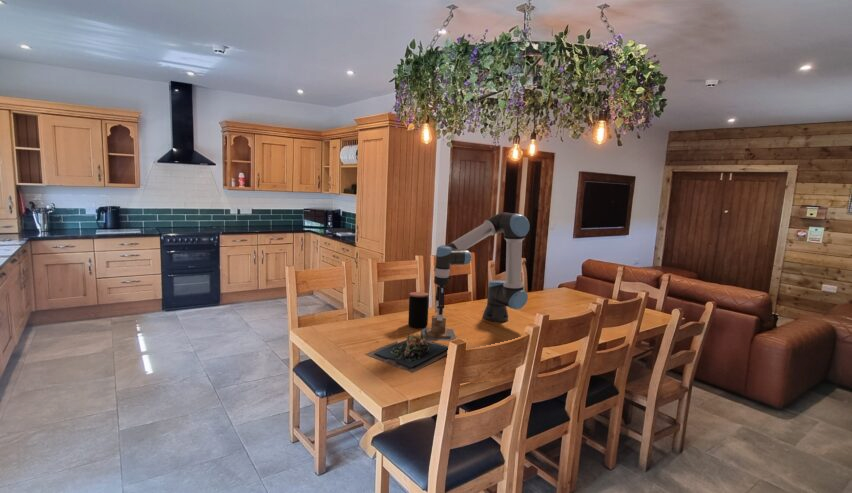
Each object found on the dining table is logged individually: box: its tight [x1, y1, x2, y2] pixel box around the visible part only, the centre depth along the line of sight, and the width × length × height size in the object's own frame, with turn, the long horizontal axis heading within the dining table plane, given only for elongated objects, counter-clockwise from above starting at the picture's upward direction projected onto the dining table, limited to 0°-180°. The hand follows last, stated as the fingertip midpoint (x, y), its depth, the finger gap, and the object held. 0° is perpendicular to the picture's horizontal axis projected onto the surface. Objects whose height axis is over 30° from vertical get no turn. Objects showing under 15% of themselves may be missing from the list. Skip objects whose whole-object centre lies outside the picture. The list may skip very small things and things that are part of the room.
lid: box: [425, 315, 451, 339], centre depth 231 cm, size 12×12×9 cm
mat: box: [419, 327, 457, 342], centre depth 232 cm, size 18×18×1 cm
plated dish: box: [365, 329, 448, 374], centre depth 206 cm, size 35×28×7 cm
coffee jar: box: [408, 291, 430, 329], centre depth 242 cm, size 11×11×18 cm
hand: (438, 316), depth 230 cm, fingers open, 13 cm apart
